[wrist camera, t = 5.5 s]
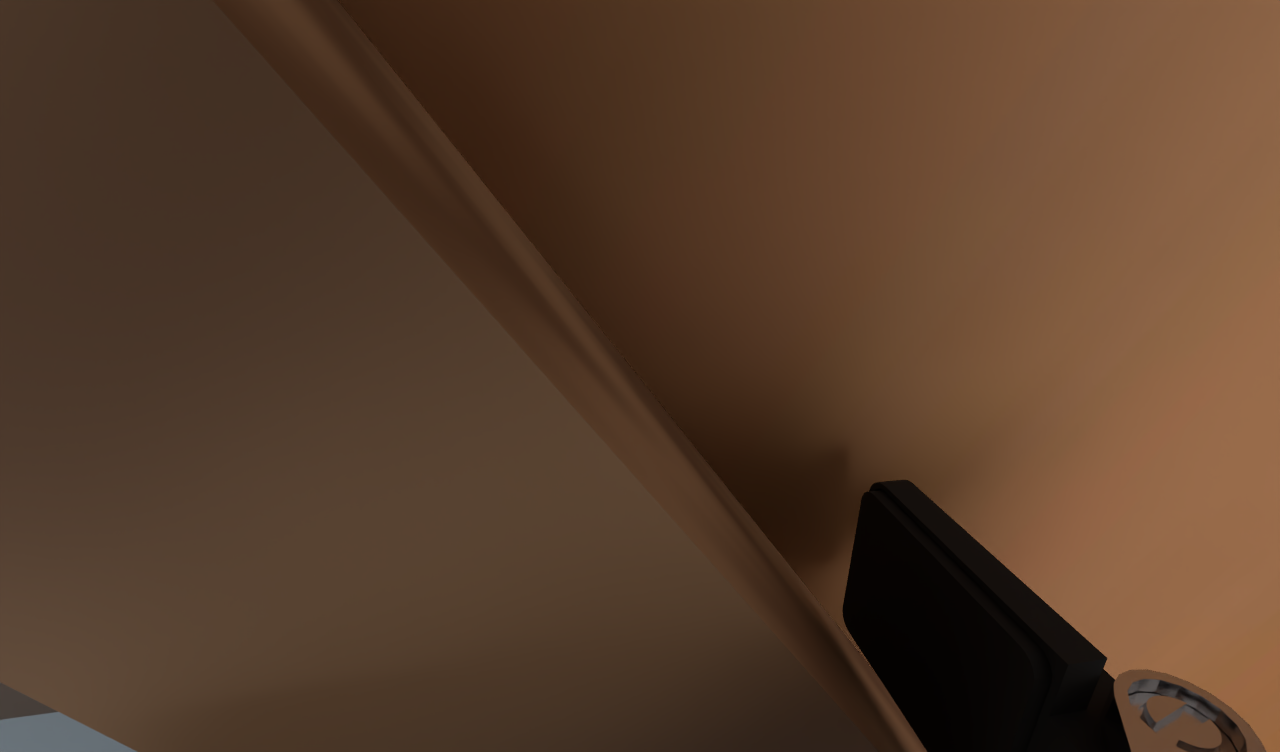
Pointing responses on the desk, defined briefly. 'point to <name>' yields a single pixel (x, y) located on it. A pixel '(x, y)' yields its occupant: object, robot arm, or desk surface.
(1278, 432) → the desk surface
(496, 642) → the walnut bar
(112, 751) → the ridge block
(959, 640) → the robot arm
